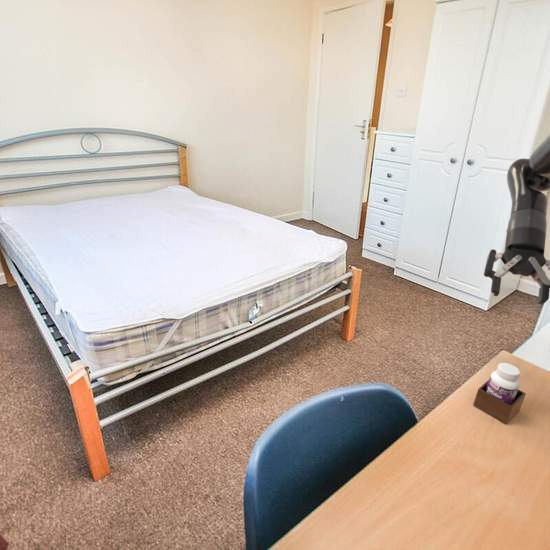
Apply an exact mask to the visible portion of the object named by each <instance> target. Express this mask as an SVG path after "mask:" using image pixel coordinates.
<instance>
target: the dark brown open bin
mask: <svg viewBox="0 0 550 550" xmlns="http://www.w3.org/2000/svg"><path fill="white" fill-rule="evenodd" d="M488 382H489V379H488V380H487V381H485V382H484V383H483V384H482V385H481V386H480V387H479V388H478V389H477V391H476V395H475V397H474V401H473V405H472V406H473V407H475V408H476V409H479V410H480V411H482V412H483V413H485V414H487V415H488V416H490V417H492V418H494V419H496V420H497V421H498V422H500V423H503V424H504V425H507V424H508V423H509V422H510V421H511V420H512V419H513V418H514V417H515V416H516V415H517V414H518V412H519V411H520V410H521V408H522V406H523V402H524V400H525V397H526V394H527V393H526V392H524V391H522V390H520V389H518V391H517V394H516V396H515V399H514V401H513V404H512V405H509V404H507V403H506V402H504V401H502V400H500V399H498V398H496V397H495V396H493V395H491V394H489V393H487V392H485V391H486V388H487V385H488Z"/></svg>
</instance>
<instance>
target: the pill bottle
mask: <svg viewBox="0 0 550 550" xmlns="http://www.w3.org/2000/svg"><path fill="white" fill-rule="evenodd" d="M520 374H521V371H520V369H519V368H518V367H517V366H515V365H513V364H511V363H507V362H500V363H498V364H497V366H496V370H494V371H492V372H491V374H490V376H489V379H488V380H489V382H488V385H487V388H486V391H485V392H487V393H489V394H491V395H493V396H495V397H496V398H498V399H500V400H502V401H504V402H506V403H507V404H509V405H512V404H513V401H514V399H515V396H516V394H517V391H518V390H519V388H520V386H521V385H520V384H521V382H520V379H519V377H520Z"/></svg>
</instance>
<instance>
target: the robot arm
mask: <svg viewBox="0 0 550 550" xmlns="http://www.w3.org/2000/svg"><path fill="white" fill-rule="evenodd" d="M506 182H507V183H506V184H507V187H508V190H509V194H510V199H511V208H510V216H509V220H508V223H507V228H506V238H505V247H504V250H503V253H502V252H497V250H496V249H491V250H490V251H489V253H488V255H487V257H486V263H485V266H484V267H485V268H484V271H483V276H484V277H485V278H490V279H491V287H490V293H491V294H493V296H494V297H498V296H499V295H500V293H501V292H500V291H501V283H502V277H504V276H506V275H507V274H508V273H511V274H512V275H515V276H519V275H520V276H523V277H526V278H528V277H531V279H532V280H533V281H534V282H536V283H537V284H538V286H539V288H538V299H537V305H544V304H546V303H547V302H548V300H549V299H550V278H549V277H548V276H547V274H546V272H545V270H544V269H543V267H545V266H546V267H547V270H548V271H550V259H546V257H545V248H546V238H547V227H548V226H547V225H548V221H547V212H548V202H549V201H548V196H547V195H546V194H545V193H543V192H547V191H550V133H549V134H548V135H547V136H546V137H545V138H544V140H543V141H542V142H541V143H540V144H539V145H538V146H537V148H535V150H534V151H533V152H532V154H531V155H530V157H529V158H518V159H516V160H514V161H513V162H512V163H511V164H510V166H509V167H508V169H507V173H506ZM498 260H501V262H502V263H503V266H501V268H499V269H497V271H495V270H494V264H495V263H497V262H498Z"/></svg>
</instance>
